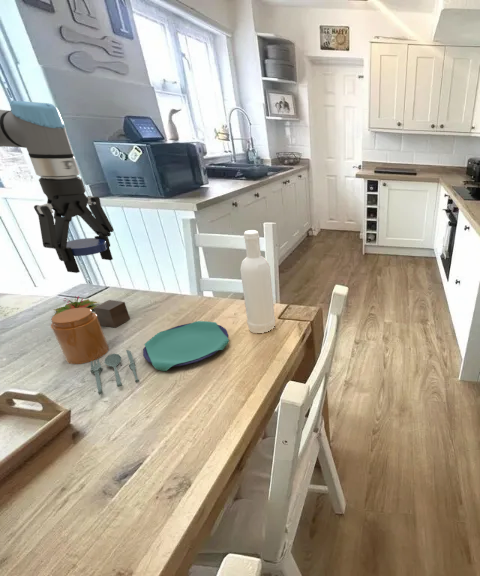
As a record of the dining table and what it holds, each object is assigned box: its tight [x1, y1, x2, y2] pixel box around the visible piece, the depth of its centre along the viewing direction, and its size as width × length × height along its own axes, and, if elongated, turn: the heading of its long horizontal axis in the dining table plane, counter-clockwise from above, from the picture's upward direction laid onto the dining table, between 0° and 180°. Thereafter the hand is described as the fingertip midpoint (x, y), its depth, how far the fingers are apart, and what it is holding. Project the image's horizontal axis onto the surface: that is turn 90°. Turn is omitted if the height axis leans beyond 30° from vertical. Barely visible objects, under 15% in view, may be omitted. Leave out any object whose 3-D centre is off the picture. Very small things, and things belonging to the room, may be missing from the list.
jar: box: [50, 308, 110, 365], centre depth 80 cm, size 8×8×12 cm
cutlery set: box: [90, 320, 230, 396], centre depth 84 cm, size 20×30×2 cm, turn 132°
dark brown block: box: [93, 299, 131, 329], centre depth 95 cm, size 5×5×6 cm
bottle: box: [239, 229, 276, 334], centre depth 92 cm, size 8×8×30 cm
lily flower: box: [51, 295, 98, 318], centre depth 99 cm, size 12×12×5 cm
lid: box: [66, 237, 107, 257], centre depth 84 cm, size 9×9×2 cm
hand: (91, 265), depth 86 cm, fingers closed on lid, 9 cm apart
